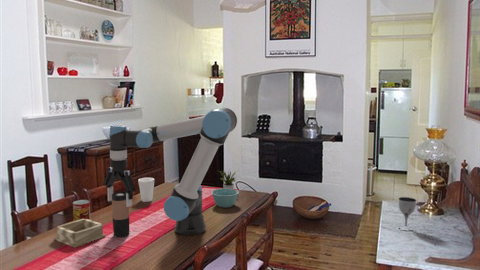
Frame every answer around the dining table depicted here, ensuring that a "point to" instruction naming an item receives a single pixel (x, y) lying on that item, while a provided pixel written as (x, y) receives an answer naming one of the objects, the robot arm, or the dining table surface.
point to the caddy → (79, 232)
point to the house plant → (228, 180)
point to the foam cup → (146, 189)
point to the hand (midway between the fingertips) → (119, 203)
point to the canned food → (81, 209)
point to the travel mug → (120, 215)
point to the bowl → (225, 197)
